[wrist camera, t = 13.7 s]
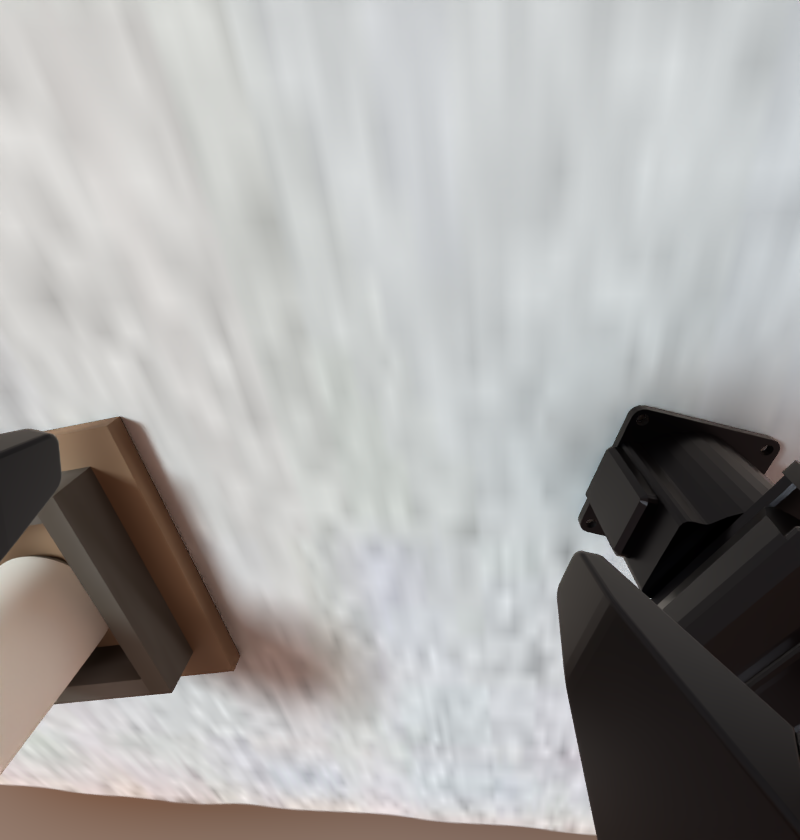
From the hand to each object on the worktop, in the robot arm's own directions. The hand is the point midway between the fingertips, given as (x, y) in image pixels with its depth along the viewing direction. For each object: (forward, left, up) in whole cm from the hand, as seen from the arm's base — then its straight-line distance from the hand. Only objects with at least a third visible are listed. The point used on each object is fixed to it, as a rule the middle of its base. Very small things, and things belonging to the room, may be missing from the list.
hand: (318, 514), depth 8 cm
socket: (+15, +18, -13) cm, 27 cm away
